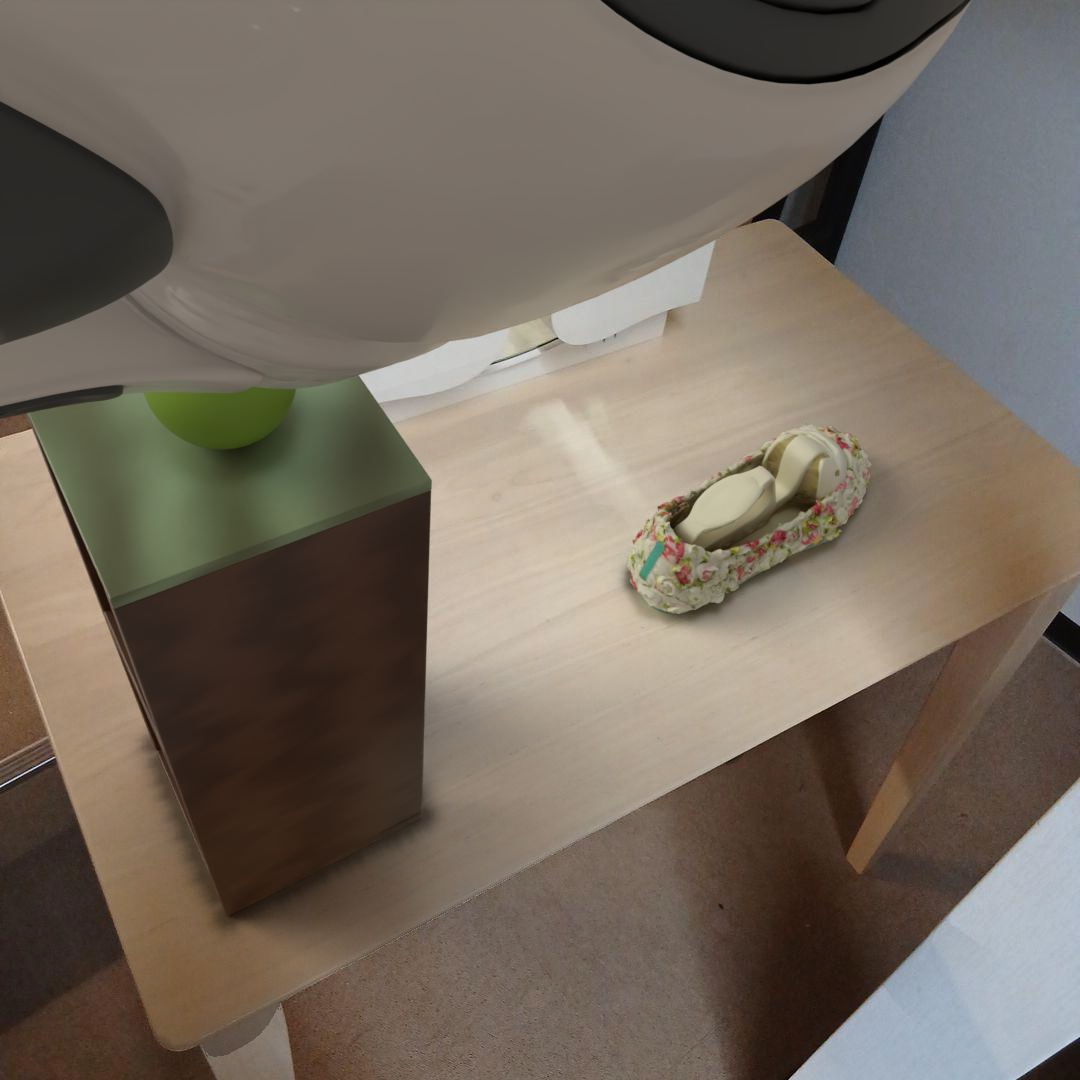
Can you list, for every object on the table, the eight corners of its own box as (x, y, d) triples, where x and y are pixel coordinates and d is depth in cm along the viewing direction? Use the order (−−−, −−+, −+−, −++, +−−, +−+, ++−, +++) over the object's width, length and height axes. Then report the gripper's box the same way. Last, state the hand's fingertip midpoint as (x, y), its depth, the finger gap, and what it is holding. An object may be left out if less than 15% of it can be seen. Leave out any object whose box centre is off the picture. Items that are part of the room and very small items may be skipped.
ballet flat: (898, 492, 84) (937, 421, 78) (694, 665, 72) (721, 597, 66) (805, 425, 88) (835, 352, 82) (596, 579, 76) (613, 507, 70)
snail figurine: (129, 384, 42) (49, 91, 32) (297, 373, 43) (267, 89, 34) (125, 488, 38) (34, 196, 29) (307, 473, 40) (276, 188, 30)
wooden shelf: (226, 917, 59) (109, 599, 35) (153, 744, 64) (11, 374, 41) (422, 818, 63) (432, 479, 40) (336, 665, 69) (302, 293, 46)
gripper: (681, -74, 24) (467, 112, 37) (-397, 80, 17) (-202, 248, 29) (749, 205, 25) (519, 292, 38) (-229, 468, 18) (-111, 469, 30)
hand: (200, 274), depth 33 cm, fingers open, 8 cm apart
